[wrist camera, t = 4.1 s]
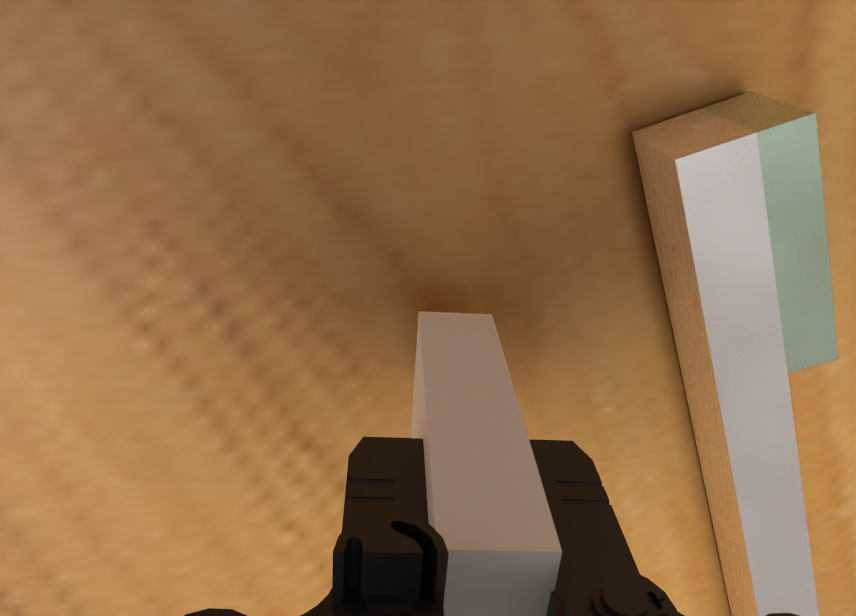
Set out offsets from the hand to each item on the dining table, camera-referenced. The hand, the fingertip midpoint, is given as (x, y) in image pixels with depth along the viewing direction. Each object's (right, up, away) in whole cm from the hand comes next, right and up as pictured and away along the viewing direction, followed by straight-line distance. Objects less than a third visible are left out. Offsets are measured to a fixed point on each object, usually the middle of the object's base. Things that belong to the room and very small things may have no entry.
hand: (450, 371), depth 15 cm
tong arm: (+8, -2, +3) cm, 8 cm away
